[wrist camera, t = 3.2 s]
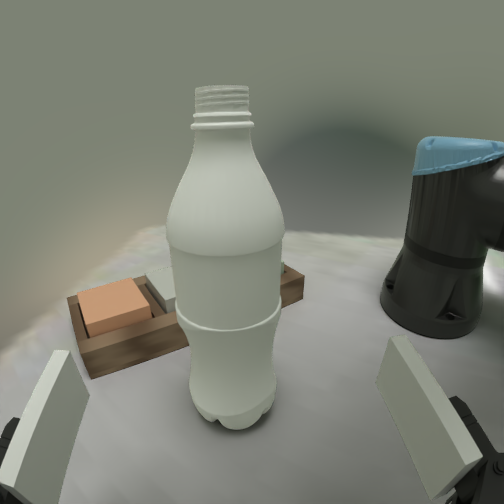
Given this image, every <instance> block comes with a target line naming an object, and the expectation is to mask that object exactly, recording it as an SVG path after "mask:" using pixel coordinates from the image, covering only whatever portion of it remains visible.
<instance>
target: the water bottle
mask: <svg viewBox="0 0 504 504" xmlns="http://www.w3.org/2000/svg"><path fill="white" fill-rule="evenodd" d="M248 91H249V89H248V87H247V86H240V85H218V86H205V87H198V88H196V89H195V97H196V99H195V102H196V105H195V108H196V113H195V114H194V115H193V117H195V123H193V124H192V125H191V130H195V141H194V147H193V152H192V155H191V159H190V161H189V164H188V166H187V168H186V171H185V173H184V175H183V177H182V179H181V181H180V184H179V186H178V188H177V190H176V193H175V196H174V198H173V200H172V203H171V206H170V209H169V213H168V217H167V224H166V239H167V241H168V243H169V247H170V255H171V264H172V272H173V280H174V287H175V294H176V301H175V309H176V315H177V321H178V323H179V325H180V326H181V328H182V329H183V331H184V333H185V335H186V337H187V339H188V342H189V345H190V350H191V372H190V377H189V388H190V393H191V396H192V400H193V402H194V404H195V406H196V408H197V410H198V411H199V412H200V413H201V415H202V416H203V417H204V418H205V419H206V420H208V421H210V422H212V423H213V422H214V421H215V420H217V419H218V420H219V421H220V423H221V424H222V425H223V426H225V427H226V428H229V429H234V430H239V429H244V428H248V427H249V426H251V425H252V424H254V423H255V422H256V421H257V420H258V419H259V418H260V417H261V415H262V414H265V413H266V412H267V411H268V410H269V409H270V408H271V406H272V404H273V401H274V398H275V394H276V385H277V379H276V376H275V373H274V369H273V362H272V350H273V341H274V336H275V331H276V327H277V324H278V321H279V318H280V315H281V303H282V301H281V296H280V279H281V253H282V238H283V236H284V220H283V215H282V211H281V208H280V205H279V203H278V201H277V198H276V196H275V194H274V192H273V190H272V188H271V185H270V184H269V182H268V180H267V178H266V176H265V174H264V172H263V171H262V169H261V167H260V165H259V163H258V161H257V159H256V157H255V154H254V151H253V148H252V143H251V138H250V128H254V123H253V122H251V121H250V115H251V113H250V112H249V110H248V109H249V101H248V98H249V95H248Z"/></svg>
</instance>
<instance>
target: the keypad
mask: <svg viewBox="0 0 504 504" xmlns="http://www.w3.org/2000/svg"><path fill="white" fill-rule="evenodd" d="M304 278H305V276H304V275H302V274H301V273H299V272H297V271H295V270H294V269H292V268H290V267H288V266H287V265H285V264H284V273H283V274H281V279H280V296H281V301H282V303H281V308H283V307H285V306H287V305H290V304H292V303H294V302H297V301H299V300H301V299H303V290H304ZM133 281H134V283H135V284H136V286H137V287H138V289H139V290H140V292H141V293H142V295H143V296H144V298H145V299H146V300H147V302H148V303H149V305H150V309H151V314H152V319H149V320H146V321H143V322H140V323H137V324H134V325H130V326H127V327H124V328H121V329H118V330H115V331H112V332H108V333H105V334H102V335H99V336H96V337H92V338H90V336H89V333H88V330H87V327H86V324H85V321H84V317H83V314H82V310H81V307H80V303H79V299H78V296H77V295H75V296H71V297H68V298H67V301H68V305H69V310H70V315H71V319H72V323H73V327H74V331H75V335H76V339H77V343H78V347H79V351H80V354H81V357H82V359H83V362H84V364H85V366H86V369H87V371H88V374H89V376H90V378H91V379H94V378H97V377H100V376H103V375H106V374H109V373H112V372H115V371H118V370H121V369H124V368H127V367H130V366H133V365H136V364H139V363H142V362H144V361H147V360H150V359H153V358H156V357H159V356H161V355H164V354H167V353H170V352H172V351H175V350H178V349H180V348H183V347H186V346H188V345H189V342H188V339H187V337H186V335H185V333H184V331H183V329H182V328H181V326H180V325H179V323H178V321H177V315H176V311H173V312H170V313H167V314H165V312H164V311H163V310H162V308H161V307H160V306H159V304H158V303H157V302H156V300H155V299H154V298H153V296H152V295H151V294H150V292H149V291H148V289H147V285H146V279H145V276H141V277H138V278H134V279H133Z"/></svg>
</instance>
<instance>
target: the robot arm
mask: <svg viewBox="0 0 504 504" xmlns="http://www.w3.org/2000/svg"><path fill="white" fill-rule="evenodd" d="M412 175H413V183H412V193H411V200H410V208H409V214H408V221H407V226H406V233H405V239H404V244H403V247H402V249H401V251H400V253H399V255H398V256H397V258H396V260H395V262H394V264H393V265H392V267H391V269H390V271H389V272H388V274H387V276H386V278H385V280H384V282H383V287H382V292H381V297H380V298H381V304H382V306H383V308H384V310H385V311H386V312H387V314H388V315H389V316H390V317H391V318H392V319H393V320H395V321H396V322H397V323H399V324H400V325H402V326H404V327H405V328H407V329H409V330H411V331H414V332H416V333H419V334H422V335H426V336H430V337H435V338H456V337H460V336H463V335H466V334H468V333H469V332H471V331H472V330H473V329H474V328H475V326H476V324H477V322H478V319H479V316H480V314H481V310H482V299H483V266H484V262H485V259H486V255H487V252H488V249H494V250H498V251H501V252H504V143H503V142H498V141H491V140H482V139H471V138H457V137H437V136H431V137H426V138H424V139H422V140H421V141H420V142H419V144H418V146H417V151H416V158H415V164H414V169H413V170H412ZM375 383H376V385H377V387H378V389H379V391H380V393H381V395H382V397H383V399H384V401H385V403H386V405H387V407H388V409H389V411H390V413H391V416H392V418H393V420H394V422H395V424H396V426H397V428H398V430H399V432H400V435H401V437H402V439H403V441H404V443H405V445H406V447H407V450H408V452H409V454H410V456H411V458H412V461H413V463H414V465H415V467H416V470H417V472H418V474H419V476H420V479H421V481H422V483H423V485H424V488H425V490H426V492H427V495H428V497H429V499H430V501H431V500H433V499H436V498H438V497H440V496H443V495H445V494H447V493H448V492H449V491H450V490H451V489H452V488H453V487H455V490H456V492H455V493H454V494H453V495H452V496H451V497H450V498H449V499H447V501H446V503H445V504H449V503H450V502H451V501H452V502H451V504H504V453H498V452H497V451H496V450H495V449H494V447H493V446H492V444H491V442H490V441H489V439H488V438H487V436H486V434H485V433H484V431H483V429H482V428H481V426H480V425H479V423H477V420H476V418H475V417H474V415H472V412H471V411H470V409H469V408H468V406H467V405H466V403H465V402H463V401H462V400H461V399H459V398H458V397H457V396H454V397H451V398H449V399H448V398H447V396H446V394H445V393H444V391H443V390H442V388H441V387H440V385H439V384H438V382H437V381H436V379H435V378H434V376H433V375H432V373H431V372H430V370H429V369H428V367H427V366H426V364H425V363H424V361H423V360H422V358H421V357H420V355H419V354H418V352H417V351H416V350H415V348H414V347H413V345H412V344H411V342H410V341H409V339H408V338H407V337H406V335H399V336H393V337H390V338H389V341H388V345H387V348H386V351H385V355H384V358H383V361H382V364H381V367H380V370H379V373H378V376H377V379H376V382H375ZM89 396H90V395H89V393H88V391H87V388H86V386H85V384H84V382H83V380H82V378H81V375H80V373H79V371H78V369H77V366H76V364H75V362H74V359H73V357H72V355H71V352H70V351H65V350H55V351H54V353H53V354H52V356H51V358H50V360H49V362H48V364H47V366H46V368H45V369H44V371H43V373H42V375H41V377H40V379H39V381H38V383H37V385H36V387H35V389H34V391H33V393H32V395H31V397H30V400H29V402H28V404H27V406H26V408H25V410H24V412H23V415H22V417H21V419H19V418H15V417H13V418H12V419H11V421H10V422H9V423H8V424H7V425H6V426H5V428H4V430H3V433H2V435H1V438H0V504H58V502H59V497H60V493H61V489H62V485H63V482H64V478H65V474H66V470H67V467H68V463H69V459H70V456H71V453H72V449H73V446H74V442H75V439H76V436H77V433H78V429H79V426H80V423H81V420H82V417H83V414H84V411H85V408H86V405H87V402H88V399H89Z"/></svg>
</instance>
